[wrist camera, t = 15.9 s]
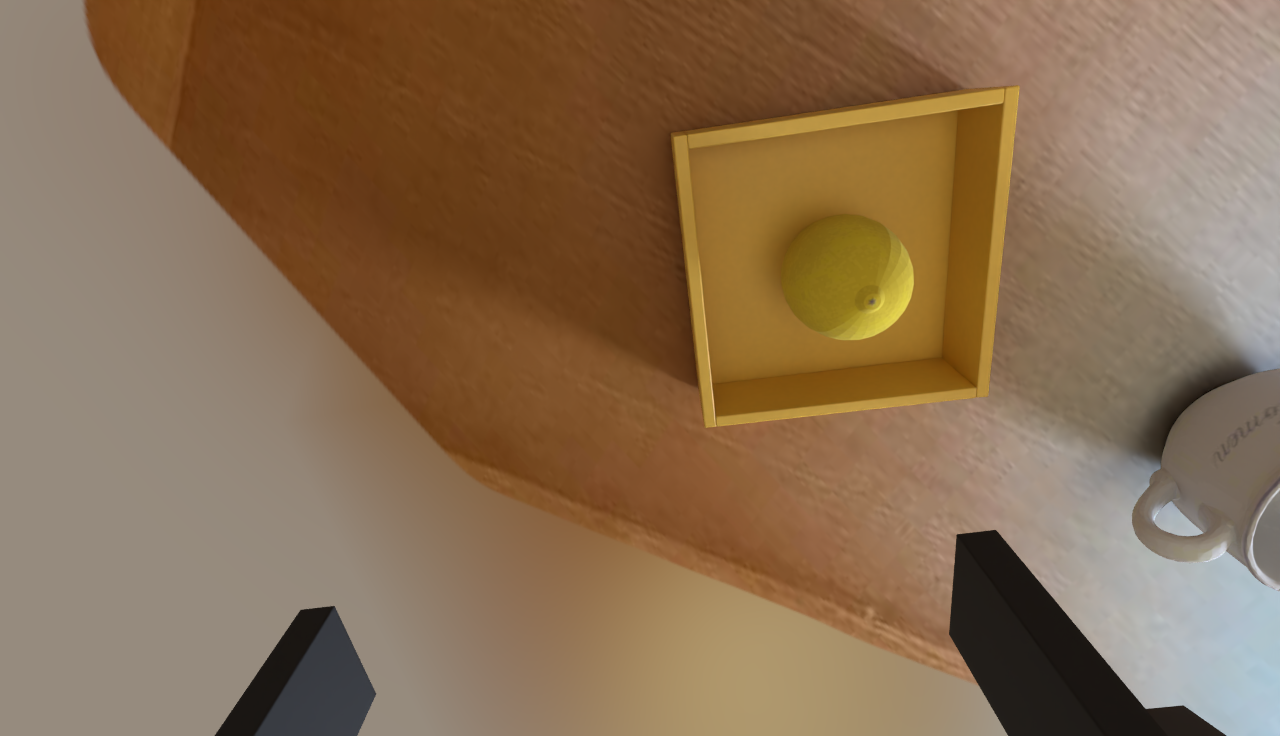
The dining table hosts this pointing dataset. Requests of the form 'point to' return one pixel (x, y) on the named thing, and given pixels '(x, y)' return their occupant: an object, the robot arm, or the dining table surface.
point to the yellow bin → (857, 185)
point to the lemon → (847, 277)
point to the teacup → (1222, 479)
